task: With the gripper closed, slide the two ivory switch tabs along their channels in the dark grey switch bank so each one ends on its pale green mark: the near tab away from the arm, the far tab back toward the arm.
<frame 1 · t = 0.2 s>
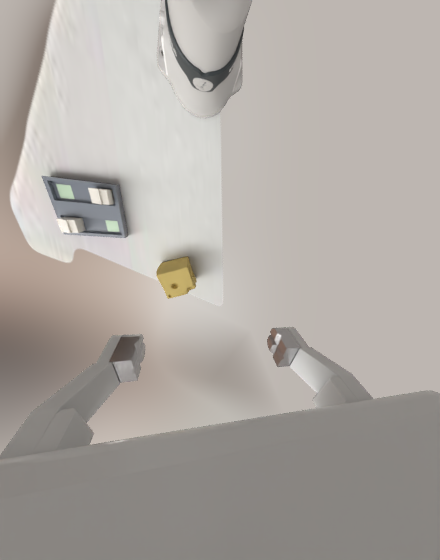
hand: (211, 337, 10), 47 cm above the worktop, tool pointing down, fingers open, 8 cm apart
cheese: (178, 270, 59), on the worktop
switch bank: (93, 209, 45), on the worktop
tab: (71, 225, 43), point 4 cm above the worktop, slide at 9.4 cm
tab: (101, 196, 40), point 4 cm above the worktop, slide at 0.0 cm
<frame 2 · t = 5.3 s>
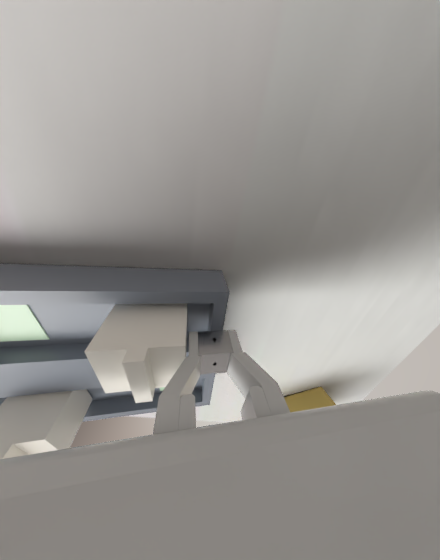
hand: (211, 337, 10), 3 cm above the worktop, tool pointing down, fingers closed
cheese: (289, 403, 27), on the worktop
switch bank: (119, 341, 13), on the worktop
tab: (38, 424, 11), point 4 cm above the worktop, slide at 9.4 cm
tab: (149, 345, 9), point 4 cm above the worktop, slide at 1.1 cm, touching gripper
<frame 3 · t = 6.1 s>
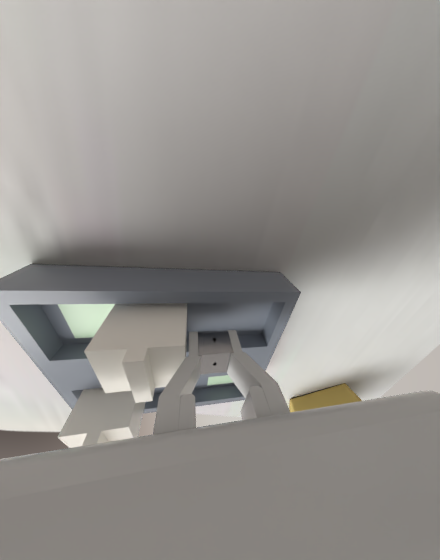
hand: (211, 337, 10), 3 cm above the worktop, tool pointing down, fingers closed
cheese: (312, 400, 28), on the worktop
switch bank: (176, 338, 14), on the worktop
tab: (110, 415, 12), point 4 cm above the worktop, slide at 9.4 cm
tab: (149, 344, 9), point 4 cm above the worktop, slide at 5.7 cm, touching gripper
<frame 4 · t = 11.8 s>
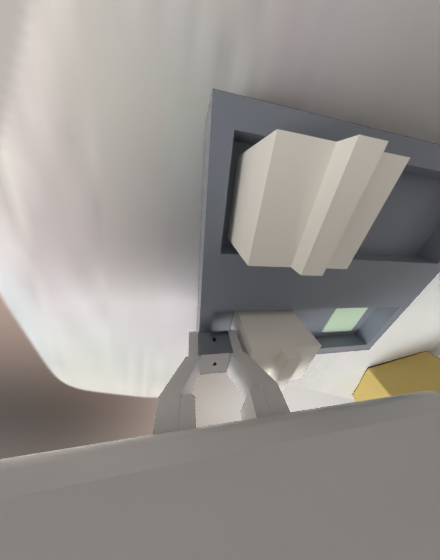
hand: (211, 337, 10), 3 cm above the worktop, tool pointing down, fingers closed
cheese: (383, 373, 26), on the worktop
switch bank: (304, 267, 12), on the worktop
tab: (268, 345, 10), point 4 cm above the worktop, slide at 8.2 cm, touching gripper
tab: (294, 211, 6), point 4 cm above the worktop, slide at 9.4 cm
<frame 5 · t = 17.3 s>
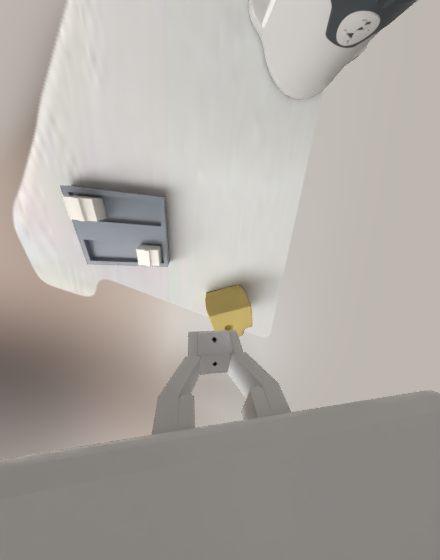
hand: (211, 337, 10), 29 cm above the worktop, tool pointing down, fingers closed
cheese: (225, 300, 46), on the worktop
switch bank: (127, 229, 32), on the worktop
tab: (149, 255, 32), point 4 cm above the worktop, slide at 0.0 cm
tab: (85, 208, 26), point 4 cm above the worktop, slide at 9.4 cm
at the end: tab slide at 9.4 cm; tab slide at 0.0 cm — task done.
